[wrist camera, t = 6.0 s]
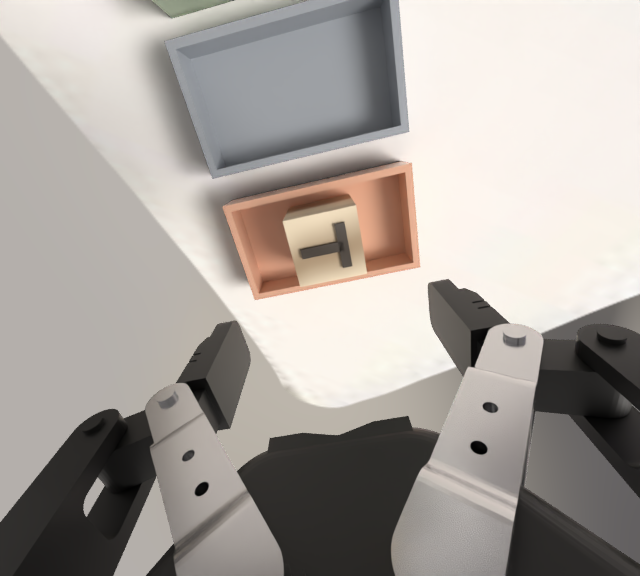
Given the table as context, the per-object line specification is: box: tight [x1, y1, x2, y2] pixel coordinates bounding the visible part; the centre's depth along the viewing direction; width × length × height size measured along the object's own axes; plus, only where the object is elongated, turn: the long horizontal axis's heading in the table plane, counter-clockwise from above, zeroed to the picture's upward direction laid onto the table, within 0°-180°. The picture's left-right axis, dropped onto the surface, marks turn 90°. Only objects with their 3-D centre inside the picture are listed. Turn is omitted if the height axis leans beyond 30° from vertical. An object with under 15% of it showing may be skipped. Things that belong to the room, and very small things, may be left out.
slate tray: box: [164, 0, 409, 179], centre depth 21 cm, size 8×14×3 cm, turn 102°
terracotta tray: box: [223, 161, 420, 300], centre depth 25 cm, size 8×14×3 cm, turn 102°
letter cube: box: [283, 194, 367, 287], centre depth 23 cm, size 5×5×5 cm
